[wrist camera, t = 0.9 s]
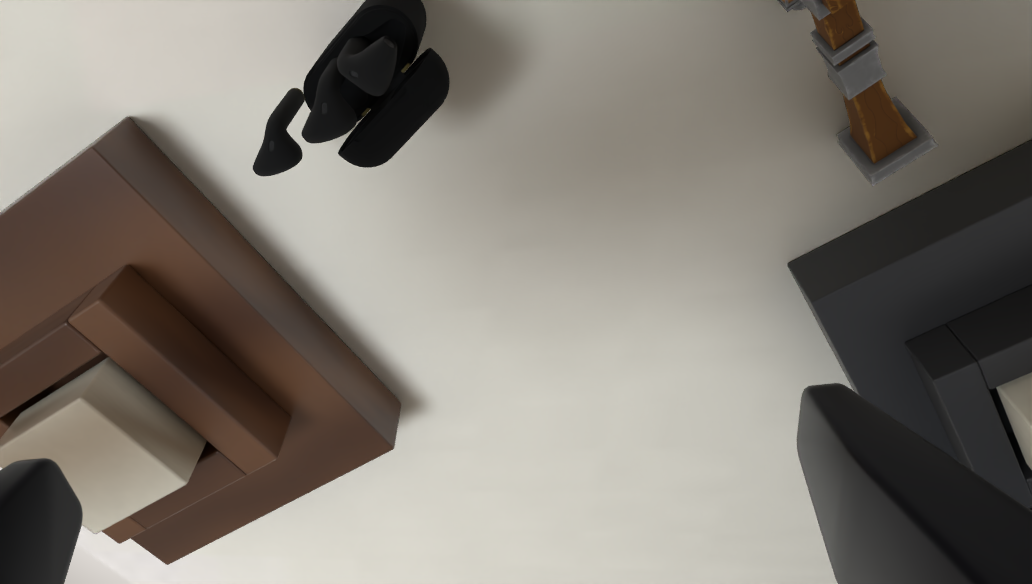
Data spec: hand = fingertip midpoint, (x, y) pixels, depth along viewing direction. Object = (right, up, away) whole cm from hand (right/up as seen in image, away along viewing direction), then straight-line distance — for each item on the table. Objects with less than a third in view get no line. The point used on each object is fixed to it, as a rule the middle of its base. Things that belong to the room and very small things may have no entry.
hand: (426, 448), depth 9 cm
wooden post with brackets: (+8, +9, +11) cm, 16 cm away
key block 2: (+17, +1, +15) cm, 23 cm away
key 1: (-10, -2, +12) cm, 16 cm away
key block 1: (-10, 0, +16) cm, 19 cm away
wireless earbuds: (-2, +8, +11) cm, 14 cm away
